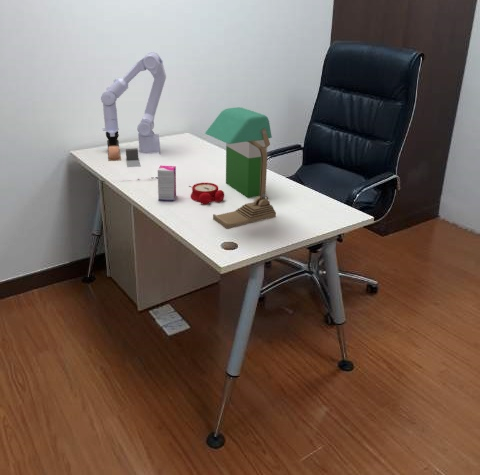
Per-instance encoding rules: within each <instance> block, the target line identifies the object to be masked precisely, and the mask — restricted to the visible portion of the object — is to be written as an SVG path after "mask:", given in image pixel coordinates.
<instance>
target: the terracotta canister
mask: <svg viewBox="0 0 480 475" xmlns="http://www.w3.org/2000/svg"><path fill="white" fill-rule="evenodd" d="M108 149H109V159H112V160H115V159H119V158H120V155H121V154H120V155H119V149H120V145H119V146H109V147H108V146H107V150H108Z"/></svg>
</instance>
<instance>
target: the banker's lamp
mask: <svg viewBox="0 0 480 475" xmlns="http://www.w3.org/2000/svg"><path fill="white" fill-rule="evenodd" d="M270 124H271V123H270V120H269V118H268V116H267V115H266V114H262V113H260V112H256V111H254V110H251V109H247V108H244V107H228V108H225V109H223V110H222V111H220V113H219V114H218V115H217V116H216V118H215V119H214V121H213V122H212V123H211V125H210V126H209V127H208V128H207V130H206V131H205V132H204V134H206V135H208V136H210V137H212V138H214V139H217V140H219V141H221V142H222V143H228V144H233V143H240V142H249V143H250V144H252V145H254V146H256V147H257V148H258V149H259V150H260V153H261V176H260V196H257V197H256V198H255V199H254V201H253V202H247V203H244V204H242V206H240V207H238V208H237V209H235V210H234V211H230V212H225V213H221V214H212V220H213V221H215V222H216V223H217V224H219V225H221V226H222V227H223V228H225V229H231V228H236V227H238V226H239V227H240V226H242V225H247V224H251V223H256V222H259V221H264V220H266V219H271V218H275V217H276V216H277V212H276V210H275V208H274V206H273V205H272V204H271V203H270V201H269V198H268V196H266V189H267V173H268V172H267V171H268V168H267V167H268V151H267V152H266V148H267V149H268V147H269V146H270V145H271V143H270V139H271V138H273V136H272V129H271V125H270ZM261 139H264V143H265V146H264V147H263V146H262V145H260V144H259V143H257V142H255V141H254V140H261Z"/></svg>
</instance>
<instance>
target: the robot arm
mask: <svg viewBox="0 0 480 475" xmlns="http://www.w3.org/2000/svg"><path fill="white" fill-rule="evenodd" d="M163 62H164V61H163V59H162V58H161V56H160V55H159V54H158V53H157V52H154V51H153V52H149V53H147V54H146V55H145V56H144V57H142V58H141V59H140V60H138V61H137V62H136V63H135V64H134V65H133V66H132V67H131V68H130V69H129V71H128V72H127V73H126V74H125V75H124V76H123V77H118V78H115V79H113V83H112V84H111V85H110V86H108V87H106V91H104V92H103V93H102V94H101V96H100V100H101V103H102V107H103V108H102V109H103V119H104V128H102V131H103V132H105V136H106V139H107V140H109V143H110V146H116V145H117V140H119V137H120V134H119V131H120V129H119V123H118V113H117V112H118V110H117V100H118V99H119V98H120V97H121V96H122V95H123V94H124V92H126V91H127V90H128V89H129V83H131V81H132V80H133V79H135V77H136V76H138V74H139V73H140V72H144V71H146V70H147V71H149V73H150V74H151V76H152V78H153V82H152V85H151V89H150V93H149V97H148V99H147V103H146V106H145V109H144V113H143V116H142V118H141V120H140V122H139V123H138V125H137V130H136V131H137V132H138V134H137V136H138V137H137V138H138V152H140V153H143V154H153V153H158V154H159V155H161V146H160V145H161V144H160V135H159V134H157V133H155V132H154V130H153V129H154V128H155V123H154V120H155V116H156V113H157V109H158V106H159V102H160V99H161V97H162V96H161V95H162V92H163V89H164V87H165V86H164V85H165V82H166V79H167V74H166V71H165V67H164V63H163Z"/></svg>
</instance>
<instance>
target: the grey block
mask: <svg viewBox="0 0 480 475" xmlns="http://www.w3.org/2000/svg"><path fill="white" fill-rule="evenodd" d="M125 155H126V157H125V161H126V162H125V163H126V167H127V168H136V167H138V168H140V167H141V162H140V158H139V148H126V149H125Z"/></svg>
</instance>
